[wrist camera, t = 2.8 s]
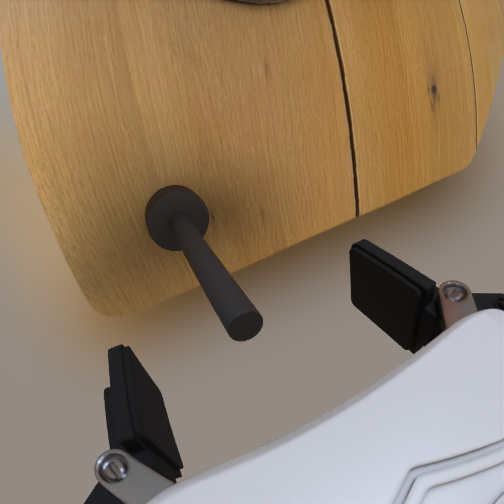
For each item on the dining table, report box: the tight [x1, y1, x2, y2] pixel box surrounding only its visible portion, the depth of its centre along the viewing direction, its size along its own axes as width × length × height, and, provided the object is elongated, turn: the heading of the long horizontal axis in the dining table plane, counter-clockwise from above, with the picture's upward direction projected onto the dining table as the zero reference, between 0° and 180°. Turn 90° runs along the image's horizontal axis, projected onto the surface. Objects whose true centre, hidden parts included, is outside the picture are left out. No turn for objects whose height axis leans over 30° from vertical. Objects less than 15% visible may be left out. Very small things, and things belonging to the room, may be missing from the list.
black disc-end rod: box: [145, 185, 263, 341], centre depth 17 cm, size 4×4×14 cm
